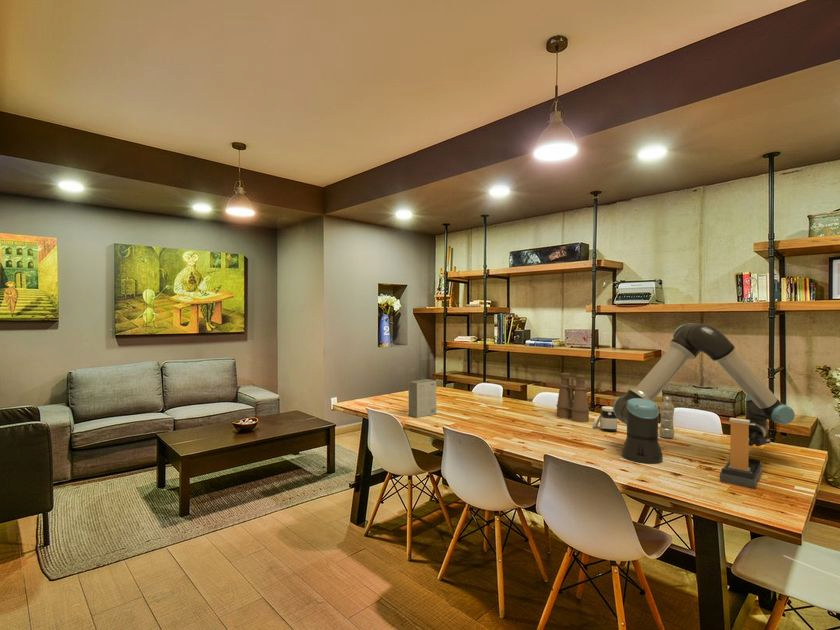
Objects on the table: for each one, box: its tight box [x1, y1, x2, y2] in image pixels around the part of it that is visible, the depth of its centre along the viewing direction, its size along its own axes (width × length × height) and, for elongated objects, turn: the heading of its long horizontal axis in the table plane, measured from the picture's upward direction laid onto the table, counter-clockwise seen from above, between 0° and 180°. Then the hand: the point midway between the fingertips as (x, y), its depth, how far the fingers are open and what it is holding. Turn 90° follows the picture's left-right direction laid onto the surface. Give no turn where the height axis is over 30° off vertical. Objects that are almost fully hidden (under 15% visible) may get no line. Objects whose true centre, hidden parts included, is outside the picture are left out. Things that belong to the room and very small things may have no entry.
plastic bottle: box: [658, 395, 676, 439], centre depth 220 cm, size 6×7×20 cm
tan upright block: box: [728, 417, 751, 473], centre depth 162 cm, size 5×6×18 cm
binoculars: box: [555, 372, 591, 423], centre depth 260 cm, size 21×10×25 cm, turn 31°
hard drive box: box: [408, 378, 437, 418], centre depth 264 cm, size 16×8×20 cm, turn 130°
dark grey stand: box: [719, 457, 763, 490], centre depth 166 cm, size 22×10×5 cm, turn 138°
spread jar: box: [592, 405, 618, 433], centre depth 235 cm, size 12×11×12 cm
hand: (744, 445), depth 172 cm, fingers closed
